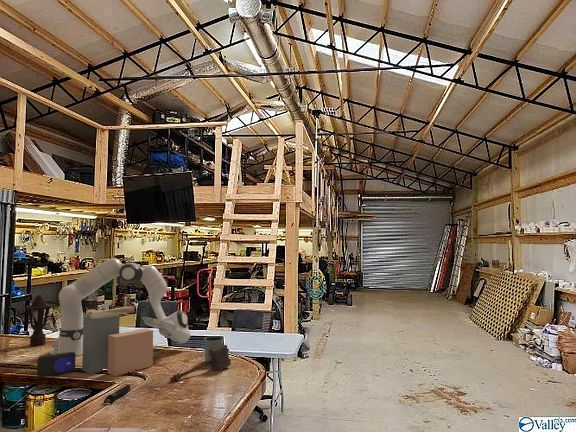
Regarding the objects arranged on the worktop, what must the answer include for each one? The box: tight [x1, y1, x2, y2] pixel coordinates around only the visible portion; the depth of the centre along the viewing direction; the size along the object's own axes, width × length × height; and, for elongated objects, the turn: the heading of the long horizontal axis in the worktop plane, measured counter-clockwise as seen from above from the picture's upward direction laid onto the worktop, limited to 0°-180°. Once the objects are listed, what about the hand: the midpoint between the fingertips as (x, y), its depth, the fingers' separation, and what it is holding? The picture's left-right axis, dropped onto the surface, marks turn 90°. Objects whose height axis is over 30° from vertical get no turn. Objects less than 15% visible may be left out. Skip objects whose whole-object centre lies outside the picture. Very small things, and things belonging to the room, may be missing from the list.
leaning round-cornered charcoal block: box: [36, 352, 76, 378], centre depth 207 cm, size 16×5×9 cm, turn 124°
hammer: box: [169, 343, 232, 382], centre depth 207 cm, size 7×33×10 cm, turn 137°
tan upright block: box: [107, 328, 154, 377], centre depth 214 cm, size 7×20×18 cm, turn 140°
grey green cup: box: [203, 335, 224, 363], centre depth 228 cm, size 10×10×12 cm
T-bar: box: [85, 306, 136, 319], centre depth 220 cm, size 7×23×3 cm, turn 140°
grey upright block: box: [81, 314, 121, 375], centre depth 215 cm, size 9×14×26 cm, turn 140°
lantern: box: [25, 294, 53, 347], centre depth 263 cm, size 15×15×30 cm
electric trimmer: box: [103, 384, 131, 404], centre depth 177 cm, size 4×16×3 cm, turn 169°
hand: (148, 318), depth 235 cm, fingers open, 8 cm apart
